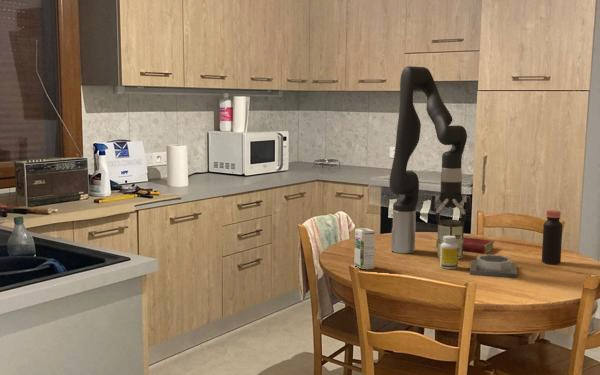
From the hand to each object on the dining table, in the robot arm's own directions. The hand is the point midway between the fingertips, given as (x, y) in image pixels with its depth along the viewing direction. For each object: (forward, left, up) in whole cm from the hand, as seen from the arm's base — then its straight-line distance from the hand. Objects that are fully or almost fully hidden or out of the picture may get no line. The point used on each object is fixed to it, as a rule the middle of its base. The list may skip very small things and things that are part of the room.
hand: (450, 223), depth 237 cm
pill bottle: (0, 0, -17) cm, 17 cm away
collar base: (+16, 0, -17) cm, 23 cm away
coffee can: (-1, +18, -17) cm, 25 cm away
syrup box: (-30, -10, -17) cm, 36 cm away
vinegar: (+37, +19, -17) cm, 45 cm away
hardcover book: (+4, +34, -17) cm, 39 cm away
